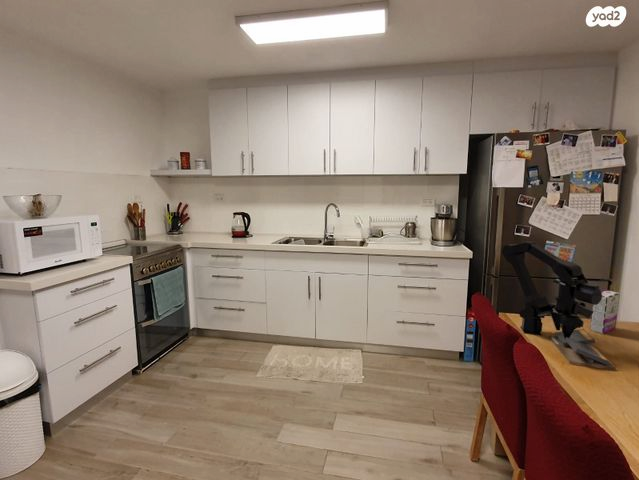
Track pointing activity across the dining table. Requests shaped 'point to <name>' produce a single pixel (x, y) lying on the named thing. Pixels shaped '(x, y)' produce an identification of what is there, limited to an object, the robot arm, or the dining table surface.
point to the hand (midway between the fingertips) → (562, 334)
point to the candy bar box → (605, 313)
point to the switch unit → (578, 356)
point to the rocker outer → (586, 350)
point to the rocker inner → (576, 337)
